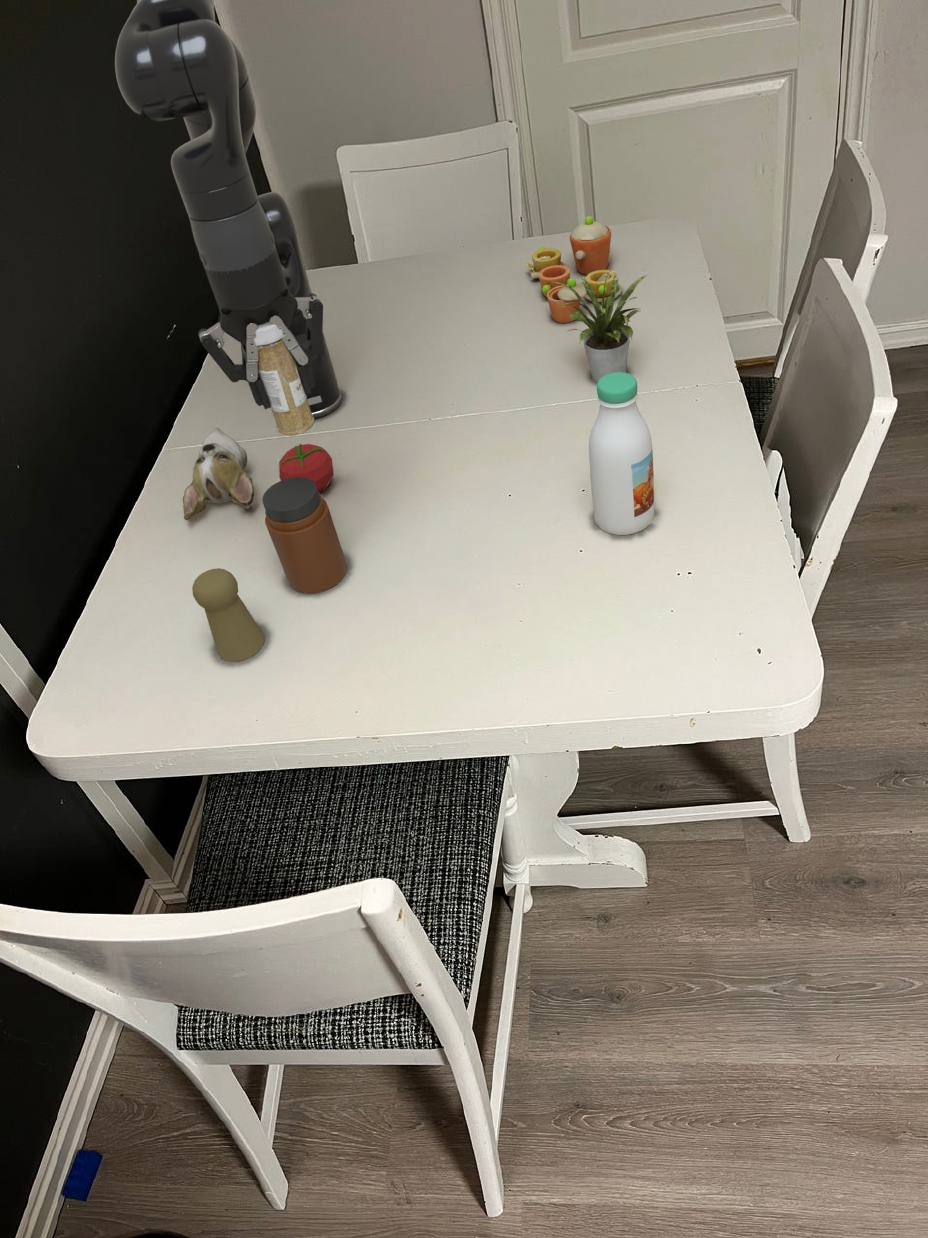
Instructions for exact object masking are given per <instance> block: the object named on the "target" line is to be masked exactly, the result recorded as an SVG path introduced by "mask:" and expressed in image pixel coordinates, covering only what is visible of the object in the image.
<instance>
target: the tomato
mask: <svg viewBox="0 0 928 1238" xmlns="http://www.w3.org/2000/svg"><path fill="white" fill-rule="evenodd" d="M278 474H279V479H280V481H282V480H285V479H288V478H293V477H304V478H308V479H310V480H312V481H313V482H314V483H315V484H316V487H317V490H318V492H319V493H320V494H321V493H322V492H323V491H324V490H325V489H327V487H328V485H329V484H330V482H331V480H332V479H333V477H334V475H335V474H334V463H333V458H332V457H331V455H330V454H329V453H328V451H327V450H326V449H325V448H323V447H322V446H320V445H317V444H311V443H304V444H302V443H299V444H298V445H294V446H293V447H291V448H290V449H289V450H287V451H286V452H285V453H284V454H283V456H282V457H281V458H280V460H279V461H278Z"/></svg>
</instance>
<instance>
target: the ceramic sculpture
mask: <svg viewBox="0 0 928 1238" xmlns="http://www.w3.org/2000/svg"><path fill="white" fill-rule="evenodd" d="M247 453H248V452H247V450H246V449H245V448H243V447H242V446H241V444H239V442H237V441H236V439H234V438H233V437H231V436H230V435H229V434H227V433H226V432H224V431H222V430H221V429H220V428H219V427H216V426H215V427H214V428H213V429H212V431H211V433H210V434H209V435H208V436H207V437H206V438H205V439H204V440H203V443H202V445H201V447H200V448H199V451H198V455H197V458H196V460H195V462H194V465H193V469H192V470H193V471H192V482H191V483H190V484H189V485H188V486H187V487H186V488H185V489H184V491H183V493H184V494H183V496H182V504H183V505H182V507H183V520H187V521H188V520H189V519H192V518H194V517H197V516H198V515H200V514H201V513H202V512H203V511H204V510H205V509H206V506H207V502H206V501H208V502H210V503H212V504H221V503H226V502H230V501H232V502H233V503H234V505H238V506H239V507H242V508H245V509H249V508H250V506H251V505H252V503H253V501H254V499H255V498H254V497H255V485H254V482H253V478H252V477H251V476H250V475H249V474H248V473H246V472H244V470H246V468H247V464H248V454H247Z"/></svg>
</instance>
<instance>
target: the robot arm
mask: <svg viewBox="0 0 928 1238" xmlns="http://www.w3.org/2000/svg"><path fill="white" fill-rule="evenodd" d="M114 70H115V77H116V82H117V85H118V88H119V92H120V93H121V96H122V98H123V99H124V101H125V103H126V104H127V105H128V107H129V108H130V109H131V110H132V111H133V112H134V113H135V114H136V115H138V116H139V117H140V118H142V119H144V120H147V121H149V122H153V123H155V122H156V123H157V122H158V123H159V122H160V123H161V122H167V121H172V120H177V119H181V118H182V119H183V121H184V125H185V127H186V130H187V132H188V135H189V138H190V140H189V141H187V142H185V143H183V144H181V145H180V146H179V147H178V148H176V149H175V150H174V151H173V153H172V154H171V159H170V166H171V167H170V168H171V170H172V174H173V178H174V180H175V182H176V186H177V189H178V192H179V194H180V197H181V200H182V202H183V206H184V208H185V211H186V214H187V216H188V220H189V221H190V223H189V224H190V227H191V232H192V236H193V240H194V243H195V246H196V249H197V252H198V255H199V260H200V261H201V263H202V265H203V268H204V271H205V275H206V276H207V280H208V282H209V285H210V288H211V290H212V293H213V296H214V299H215V302H216V304H217V307H218V319H217V322H216V323H215V324H213V325H212V326H210V327H209V328H201V329H199V330H198V334H197V335H198V337H199V340H200V343H201V345H202V347H203V348H204V349H205V351H206V352H207V353H208V354H209V356H210V357H211V358H212V360H213V361H214V362H215V363H216V364H217V365H218V367H219V368H220V369H221V371H222V372H223V374H225V376H226V378H228V380H229V381H230V382H232V383H238V382H239V381H245V382H246V383H248V386H249V389H250V392H251V395H252V397H253V399H254V402H255V404H256V405H257V406H258V407H262V406H263V409H264V410H268V409H271V406H270V403H269V401H268V398H267V395H266V392H265V389H264V386H263V383H262V380H261V378H260V376H259V374H258V365H257V363H258V346H256V345H255V342H254V338H256V333H255V332H256V331H257V330H258V325H260V324H263V323H266V322H270V324H271V325H276V326H277V328H278V329H281V330H282V333H285V334H284V335H283V337H282V338H281V340H283V342H284V344H285V345H286V347H287V348H288V350H289V351H290V352H291V353H292V355H293V356H294V359H295V361H296V364H297V368H298V372H299V375H300V378H301V381H302V384H303V387H304V390H305V394H306V398H307V400H308V403H309V407H310V410H311V413H312V415H313V417H314V419H318V418H322V417H324V416H326V415H328V414H330V413H333V412H334V411H336V409H337V408H338V407H339V406H340V405H341V404H342V402H343V395H342V392H341V389H340V387H339V383H338V380H337V376H336V372H335V369H334V365H333V361H332V359H331V355H330V351H329V348H328V344H327V341H326V338H325V333H324V331H323V329H324V328H323V327H324V304H323V302H322V301H321V299H320V298H319V297H318V296H317V294H316V293H313V292H312V289H311V285H310V282H309V278H308V274H307V271H306V267H305V263H304V259H303V255H302V250H301V246H300V242H299V237H298V232H297V228H296V224H295V220H294V217H293V214H292V212H291V208H290V207H289V204H288V203H287V201H286V200H285V198H284V197H283V195H281V193H279V192H277V191H269V192H265V193H262V194H259V195H258V192H257V190H256V187H255V183H254V180H253V177H252V174H251V171H250V166H249V163H248V160H247V155H246V154H247V151H248V149H249V146H250V142H251V139H252V136H253V133H254V129H255V125H256V120H257V106H256V101H255V97H254V92H253V89H252V84H251V80H250V77H249V72H248V68H247V64H246V60H245V58H244V56H243V54H242V52H241V51H240V49H239V48H238V46H237V45H236V43H235V42H234V41H233V39H232V38H231V37H230V35H228V34H227V32H226V31H225V29H224V28H222V27H221V26H220V25H219V24H218V23H217V22H216V14H215V0H136V5H135V6H134V7H133V9H132V11H131V12H130V15H129V17H128V18H127V20H126V21H125V24H124V26H123V27H122V29H121V31H120V33H119V36H118V39H117V42H116V48H115V55H114ZM281 319H282V320H281ZM224 334H227V335H228V336H230V337H231V338H233V339H234V340H235V341H237V342H238V343H240V350H241V364H240V363H237V364H235V362H234V361H233V360H232V359H231V357H230V356H229V355H228V353H227V352H226V351H225V350H224V348H223V347H224V346H225V340H224V338H223V336H224ZM252 343H253V344H252Z"/></svg>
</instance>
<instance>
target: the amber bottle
mask: <svg viewBox="0 0 928 1238" xmlns="http://www.w3.org/2000/svg"><path fill="white" fill-rule="evenodd" d="M261 499H262V502H261V503H262V505H263V508H264V515H265V518H264V523H265V524H264V525H265V527H266V530H267V532H268V534H269V537H270V540H271V542H272V544H273V547H274V549H275V553H276V555H277V558H278V560H279V562H280V565H281V567H282V571H283V573H284V575H285V578H286V580H287V583H288V586H289V587H290V588H292V590H294V591H295V592H298V593H300V594H308V595H309V594H312V595H313V594H318V593H322V592H325V591H327V590H328V591H329V590H330V589H332V588H334V587H335V586H337V585H338V584H339V583H340V582H341V581H342V580H343V579H344V577H345V576H346V574H347V573H348V572H347V571H348V563H347V560H346V557H345V554H344V550H343V548H342V544H341V542H340V539H339V536H338V532H337V529H336V527H335V522H334V520H333V517H332V514H331V510H330V508H329V505H328V502H327V501H326V499H324V497H322V494H321V492H320V493H319V492H318V490H317V487H316V484H315V483H314V482H313V481H312V480H310V479H308V478H304V477H293V478H288V479H285V480H282V481H281V480H279V481H277V482H275V483H274V484H272V485H271V486H269V487H268V488H267V490H266V491H265V492H264V493H263V495H262V498H261Z"/></svg>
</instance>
